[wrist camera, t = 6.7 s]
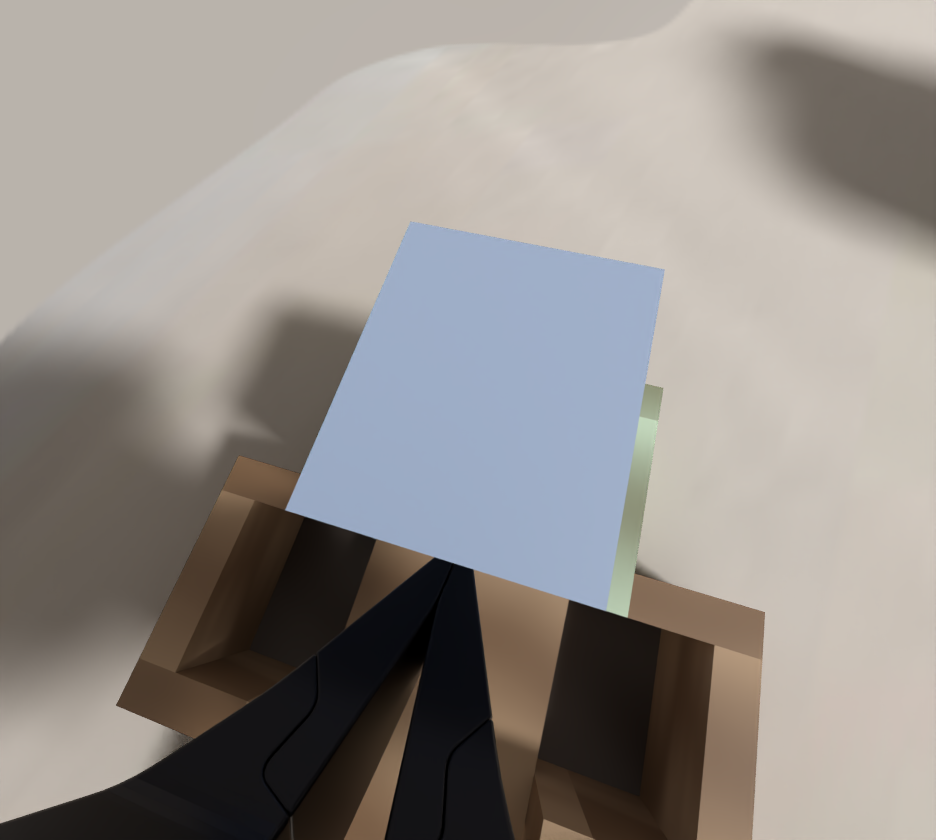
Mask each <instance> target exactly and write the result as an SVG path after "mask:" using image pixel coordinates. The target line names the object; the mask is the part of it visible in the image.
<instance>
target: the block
mask: <svg viewBox="0 0 936 840" xmlns="http://www.w3.org/2000/svg"><path fill="white" fill-rule="evenodd" d="M663 276H664V269H659V268H654V267H649V266H643V265H638V264H633V263H627V262H622V261H617V260H612V259H606V258H601V257H596V256H590V255H585V254H580V253H575V252H569V251H564V250H559V249H553V248H548V247H543V246H538V245H532V244H527V243H522V242H516V241H511V240H506V239H501V238H495V237H490V236H485V235H479V234H474V233H469V232H464V231H458V230H453V229H448V228H442V227H437V226H432V225H427V224H421V223H416V222H410V224H409V226H408V229H407V231H406V233H405V236H404V238H403V240H402V242H401V245H400V247H399V249H398V252H397V254H396V256H395V259H394V261H393V263H392V265H391V268H390V270H389V272H388V275H387V277H386V279H385V282H384V284H383V286H382V288H381V291H380V293H379V295H378V298H377V300H376V302H375V305H374V307H373V309H372V311H371V314H370V316H369V318H368V321H367V323H366V325H365V328H364V330H363V332H362V334H361V337H360V339H359V341H358V344H357V346H356V348H355V351H354V353H353V355H352V357H351V360H350V362H349V364H348V367H347V369H346V371H345V374H344V376H343V378H342V380H341V383H340V385H339V387H338V390H337V392H336V394H335V397H334V399H333V401H332V403H331V406H330V408H329V410H328V413H327V415H326V417H325V420H324V422H323V424H322V426H321V429H320V431H319V433H318V436H317V438H316V440H315V443H314V445H313V447H312V449H311V452H310V454H309V456H308V459H307V461H306V463H305V466H304V468H303V470H302V472H301V475H300V477H299V479H298V482H297V484H296V486H295V489H294V491H293V493H292V495H291V498H290V500H289V502H288V505H287V507H286V509H285V510H286V511H289V512H293V513H296V514H299V515H302V516H305V517H308V518H312V519H315V520H318V521H321V522H324V523H328V524H331V525H334V526H337V527H340V528H343V529H347V530H350V531H353V532H356V533H359V534H362V535H366V536H369V537H372V538H375V539H378V540H382V541H385V542H388V543H391V544H394V545H397V546H401V547H404V548H407V549H410V550H413V551H416V552H420V553H423V554H426V555H429V556H432V557H436V558H439V559H442V560H445V561H448V562H451V563H455V564H458V565H461V566H464V567H467V568H470V569H474V570H477V571H480V572H483V573H486V574H490V575H493V576H496V577H499V578H502V579H505V580H509V581H512V582H515V583H518V584H521V585H525V586H528V587H531V588H534V589H537V590H540V591H544V592H547V593H550V594H553V595H556V596H559V597H563V598H566V599H569V600H572V601H575V602H579V603H582V604H585V605H588V606H591V607H594V608H598V609H601V610H604V611H606V609H607V603H608V597H609V591H610V585H611V580H612V574H613V568H614V562H615V556H616V550H617V545H618V539H619V533H620V527H621V521H622V515H623V510H624V504H625V498H626V492H627V486H628V480H629V475H630V469H631V463H632V457H633V451H634V445H635V440H636V434H637V428H638V422H639V416H640V410H641V405H642V399H643V393H644V387H645V381H646V375H647V370H648V364H649V358H650V352H651V346H652V340H653V335H654V329H655V323H656V317H657V311H658V305H659V300H660V294H661V288H662V282H663Z"/></svg>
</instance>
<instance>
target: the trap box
mask: <svg viewBox="0 0 936 840" xmlns="http://www.w3.org/2000/svg"><path fill="white" fill-rule="evenodd" d="M662 393H663V388H661V387H656V386H652V385H648V384H645V387H644V393H643V399H642V405H641V410H640V416H639V422H638V428H637V434H636V440H635V445H634V451H633V457H632V463H631V469H630V475H629V480H628V486H627V492H626V498H625V504H624V510H623V515H622V521H621V527H620V533H619V539H618V545H617V550H616V556H615V562H614V568H613V574H612V580H611V585H610V591H609V597H608V603H607V609H606V611H604V610H601V609H598V608H594V607H591V606H588V605H585V604H582V603H579V602H575V601H572V600H569V599H566V598H563V597H559V596H556V595H553V594H550V593H547V592H544V591H540V590H537V589H534V588H531V587H528V586H525V585H521V584H518V583H515V582H512V581H509V580H505V579H502V578H499V577H496V576H493V575H490V574H486V573H483V572H480V571H477V570H474V576H475V584H476V592H477V599H478V607H479V615H480V623H481V631H482V639H483V647H484V654H485V662H486V670H487V678H488V686H489V694H490V701H491V709H492V721H493V723H494V731H495V739H496V746H497V752H498V759H499V765H500V771H501V778H502V783H503V787H504V792H505V797H506V801H507V806H508V811H509V816H510V820H511V824H512V828H513V833H514V837H515V840H752V829H753V811H754V794H755V777H756V759H757V742H758V724H759V707H760V690H761V672H762V655H763V637H764V620H765V612H762V611H759V610H756V609H752V608H749V607H745V606H742V605H739V604H735V603H732V602H729V601H725V600H722V599H719V598H715V597H712V596H709V595H705V594H702V593H699V592H695V591H692V590H688V589H685V588H682V587H678V586H675V585H672V584H668V583H665V582H662V581H658V580H655V579H652V578H648V577H645V576H642V575H638V574H635V567H636V560H637V554H638V548H639V541H640V535H641V528H642V522H643V515H644V509H645V503H646V496H647V490H648V483H649V477H650V470H651V464H652V458H653V451H654V445H655V438H656V432H657V425H658V419H659V413H660V406H661V400H662ZM300 475H301V474H300V473H296V472H293V471H290V470H286V469H283V468H280V467H276V466H273V465H269V464H266V463H263V462H259V461H256V460H253V459H249V458H246V457H243V456H238V458H237V460H236V462H235V464H234V466H233V468H232V470H231V472H230V474H229V477H228V479H227V481H226V483H225V485H224V487H223V489H222V491H221V493H220V495H219V497H218V499H217V501H216V503H215V505H214V507H213V509H212V511H211V513H210V515H209V517H208V519H207V521H206V523H205V525H204V527H203V529H202V531H201V534H200V536H199V538H198V540H197V542H196V544H195V546H194V548H193V550H192V552H191V554H190V556H189V558H188V560H187V562H186V564H185V566H184V568H183V570H182V572H181V574H180V576H179V578H178V580H177V582H176V584H175V586H174V589H173V591H172V593H171V595H170V597H169V599H168V601H167V603H166V605H165V607H164V609H163V611H162V613H161V615H160V617H159V619H158V621H157V623H156V625H155V627H154V629H153V631H152V633H151V635H150V637H149V639H148V641H147V643H146V646H145V648H144V650H143V652H142V654H141V656H140V658H139V660H138V662H137V664H136V666H135V668H134V670H133V672H132V674H131V676H130V678H129V680H128V682H127V684H126V686H125V688H124V690H123V692H122V694H121V696H120V698H119V700H118V703H117V705H116V706H118V707H121V708H123V709H126V710H128V711H130V712H133V713H135V714H137V715H140V716H142V717H145V718H147V719H149V720H152V721H154V722H156V723H159V724H161V725H163V726H166V727H168V728H171V729H173V730H175V731H178V732H180V733H182V734H185V735H187V736H190V737H192V738H194V739H195V738H196V737H198V736H199V735H201V734H202V733H204V732H205V731H207V730H208V729H210V728H211V727H213V726H214V725H216V724H217V723H219V722H221V721H222V720H224V719H225V718H227V717H228V716H230V715H231V714H233V713H234V712H236V711H237V710H239V709H240V708H242V707H243V706H245V705H246V704H248V703H249V702H251V701H252V700H253V699H255V698H256V697H258V696H259V695H261V694H262V693H264V692H265V691H267V690H268V689H270V688H271V687H272V686H274V685H275V684H276V683H277V682H279V681H280V680H281V679H283V678H284V677H285V676H287V675H288V674H289V673H291V672H292V671H293V670H295V669H296V668H297V667H298V666H300V665H301V664H302V663H303V662H304V661H306V660H307V659H308V658H309V657H311V656H312V655H316V653H317V651H318V650H320V649H321V648H322V647H323V646H325V645H326V644H327V643H328V642H330V641H331V640H332V639H333V638H335V637H336V636H337V635H338V634H340V633H341V632H342V631H343V630H344V629H346V628H347V627H348V626H349V625H351V624H352V623H353V622H354V621H356V620H357V619H358V618H359V617H361V616H362V615H363V614H364V613H366V612H367V611H368V610H369V609H371V608H372V607H373V606H374V605H376V604H377V603H378V602H379V601H381V600H382V599H383V598H384V597H385V596H387V595H388V594H389V593H390V592H392V591H393V590H394V589H395V588H397V587H398V586H399V585H400V584H402V583H403V582H404V581H405V580H407V579H408V578H409V577H410V576H412V575H413V574H414V573H415V572H417V571H418V570H419V569H420V568H421V567H423V566H424V565H425V564H426V563H428V562H429V561H430V560H431V559H433V558H434V557H432V556H429V555H426V554H423V553H420V552H416V551H413V550H410V549H407V548H404V547H401V546H397V545H394V544H391V543H388V542H385V541H382V540H378V539H375V538H372V537H369V536H366V535H362V534H359V533H356V532H353V531H350V530H347V529H343V528H340V527H337V526H334V525H331V524H328V523H324V522H321V521H318V520H315V519H312V518H308V517H305V516H302V515H299V514H296V513H293V512H289V511H286V510H285V509H286V507H287V505H288V502H289V500H290V498H291V495H292V493H293V491H294V489H295V486H296V484H297V482H298V479H299V477H300ZM421 672H422V671H421ZM420 676H421V674H420ZM420 676H419V678H418V680H417V682H416V684H415V687H414V689H413V691H412V693H411V695H410V698H409V700H408V702H407V704H406V706H405V708H404V711H403V713H402V715H401V717H400V719H399V721H398V724H397V726H396V728H395V730H394V732H393V734H392V737H391V739H390V741H389V743H388V745H387V747H386V750H385V752H384V754H383V756H382V758H381V760H380V763H379V765H378V767H377V769H376V771H375V773H374V776H373V778H372V780H371V782H370V784H369V786H368V789H367V791H366V793H365V795H364V797H363V799H362V802H361V804H360V806H359V808H358V810H357V812H356V815H355V817H354V819H353V821H352V823H351V825H350V828H349V830H348V832H347V834H346V836H345V838H344V840H384V838H385V834H386V829H387V825H388V820H389V816H390V811H391V807H392V802H393V798H394V793H395V789H396V784H397V780H398V775H399V771H400V766H401V762H402V757H403V753H404V748H405V744H406V739H407V735H408V730H409V726H410V721H411V717H412V712H413V708H414V703H415V699H416V694H417V690H418V685H419V681H420Z"/></svg>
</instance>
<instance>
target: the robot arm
mask: <svg viewBox="0 0 936 840" xmlns="http://www.w3.org/2000/svg"><path fill="white" fill-rule="evenodd" d="M421 671H422V672H421ZM420 674H421V676H420ZM419 676H420V681H419V685H418V690H417V694H416V699H415V703H414V708H413V712H412V717H411V721H410V726H409V730H408V735H407V739H406V744H405V748H404V753H403V757H402V762H401V766H400V771H399V775H398V780H397V784H396V789H395V793H394V798H393V802H392V807H391V811H390V816H389V820H388V825H387V829H386V834H385V838H384V840H515V837H514V833H513V828H512V824H511V820H510V816H509V811H508V806H507V801H506V797H505V792H504V787H503V783H502V778H501V771H500V765H499V759H498V752H497V746H496V739H495V731H494V723H493V721H492V709H491V701H490V694H489V686H488V678H487V670H486V662H485V654H484V647H483V639H482V631H481V623H480V615H479V607H478V599H477V592H476V584H475V576H474V569H470V568H467V567H464V566H461V565H458V564H455V563H451V562H448V561H445V560H442V559H439V558H436V557H434V558H433V559H431V560H430V561H429V562H428V563H426V564H425V565H424V566H423V567H421V568H420V569H419V570H418V571H417V572H415V573H414V574H413V575H412V576H410V577H409V578H408V579H407V580H405V581H404V582H403V583H402V584H400V585H399V586H398V587H397V588H395V589H394V590H393V591H392V592H390V593H389V594H388V595H387V596H385V597H384V598H383V599H382V600H381V601H379V602H378V603H377V604H376V605H374V606H373V607H372V608H371V609H369V610H368V611H367V612H366V613H364V614H363V615H362V616H361V617H359V618H358V619H357V620H356V621H354V622H353V623H352V624H351V625H349V626H348V627H347V628H346V629H344V630H343V631H342V632H341V633H340V634H338V635H337V636H336V637H335V638H333V639H332V640H331V641H330V642H328V643H327V644H326V645H325V646H323V647H322V648H321V649H320V650H318V651H317V653H316V655H312V656H311V657H309V658H308V659H307V660H306V661H304V662H303V663H302V664H301V665H300V666H298V667H297V668H296V669H295V670H293V671H292V672H291V673H289V674H288V675H287V676H285V677H284V678H283V679H281V680H280V681H279V682H277V683H276V684H275V685H274V686H272V687H271V688H270V689H268V690H267V691H265V692H264V693H262V694H261V695H259V696H258V697H256V698H255V699H253V700H252V701H251V702H249V703H248V704H246V705H245V706H243V707H242V708H240V709H239V710H237V711H236V712H234V713H233V714H231V715H230V716H228V717H227V718H225V719H224V720H222V721H221V722H219V723H217V724H216V725H214V726H213V727H211V728H210V729H208V730H207V731H205V732H204V733H202V734H201V735H199V736H198V737H196V738H195V739H193V740H192V741H190V742H189V743H187V744H185V745H184V746H182V747H181V748H179V749H178V750H176V751H175V752H173V753H172V754H170V755H169V756H167V757H166V758H164V759H163V760H161V761H159V762H158V763H156V764H155V765H153V766H152V767H150V768H148V769H146V770H145V771H143V772H141V773H139V774H137V775H136V776H134V777H132V778H130V779H128V780H126V781H124V782H122V783H120V784H117V785H115V786H113V787H110V788H108V789H105V790H103V791H100V792H97V793H94V794H91V795H88V796H85V797H82V798H79V799H75V800H72V801H69V802H66V803H63V804H60V805H57V806H53V807H50V808H47V809H44V810H41V811H38V812H35V813H32V814H28V815H25V816H22V817H19V818H16V819H13V820H10V821H6V822H3V823H0V840H344V838H345V836H346V834H347V832H348V830H349V828H350V825H351V823H352V821H353V819H354V817H355V815H356V812H357V810H358V808H359V806H360V804H361V802H362V799H363V797H364V795H365V793H366V791H367V789H368V786H369V784H370V782H371V780H372V778H373V776H374V773H375V771H376V769H377V767H378V765H379V763H380V760H381V758H382V756H383V754H384V752H385V750H386V747H387V745H388V743H389V741H390V739H391V737H392V734H393V732H394V730H395V728H396V726H397V724H398V721H399V719H400V717H401V715H402V713H403V711H404V708H405V706H406V704H407V702H408V700H409V698H410V695H411V693H412V691H413V689H414V687H415V684H416V682H417V680H418V678H419Z"/></svg>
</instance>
